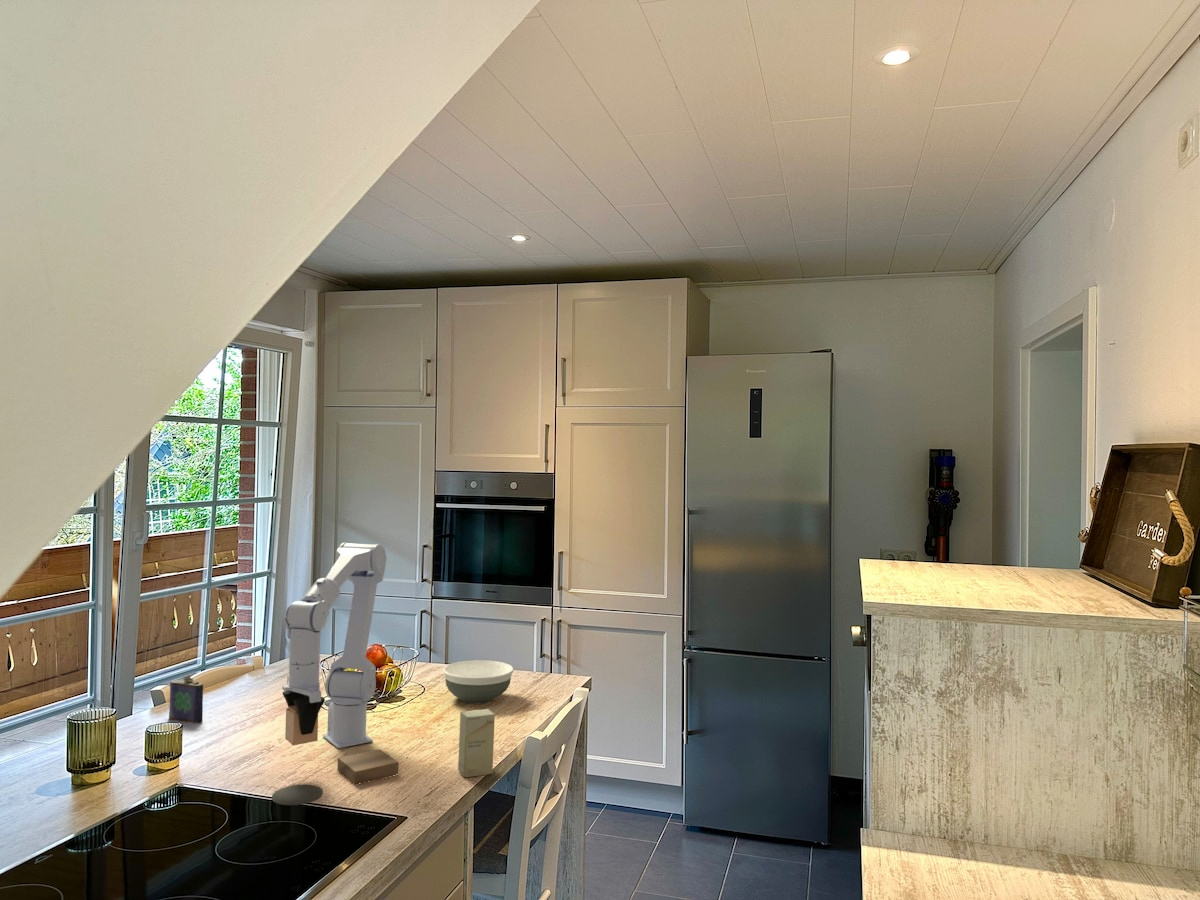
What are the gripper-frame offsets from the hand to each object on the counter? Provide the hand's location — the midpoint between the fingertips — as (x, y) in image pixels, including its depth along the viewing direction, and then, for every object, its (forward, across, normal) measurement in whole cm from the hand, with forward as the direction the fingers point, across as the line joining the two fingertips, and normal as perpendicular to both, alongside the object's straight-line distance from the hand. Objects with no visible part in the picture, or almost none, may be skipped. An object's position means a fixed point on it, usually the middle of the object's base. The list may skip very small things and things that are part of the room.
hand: (302, 729), depth 163 cm
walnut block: (+9, +6, +11) cm, 16 cm away
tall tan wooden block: (+2, 0, 0) cm, 2 cm away
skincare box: (+9, +18, +29) cm, 36 cm away
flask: (+9, -48, -11) cm, 50 cm away
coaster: (+9, +10, -4) cm, 14 cm away
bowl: (+9, -26, +55) cm, 61 cm away
